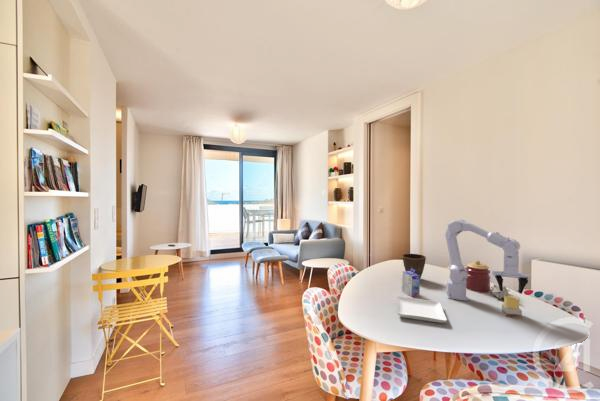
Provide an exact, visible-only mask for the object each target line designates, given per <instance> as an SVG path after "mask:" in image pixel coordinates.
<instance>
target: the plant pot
mask: <svg viewBox="0 0 600 401" xmlns="http://www.w3.org/2000/svg"><path fill="white" fill-rule="evenodd" d="M401 257H402V262H403V267H404V270H405V271H410V270H411V268H412V269H414V270H415V272H414V271H413V270H411V271H412V272H414V273H415V274H417V275H420V279H421V278H422V275H423V273H424V269H425V265H426V260H427V256H425V255H423V254H418V253H404V254H402V255H401Z"/></svg>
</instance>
